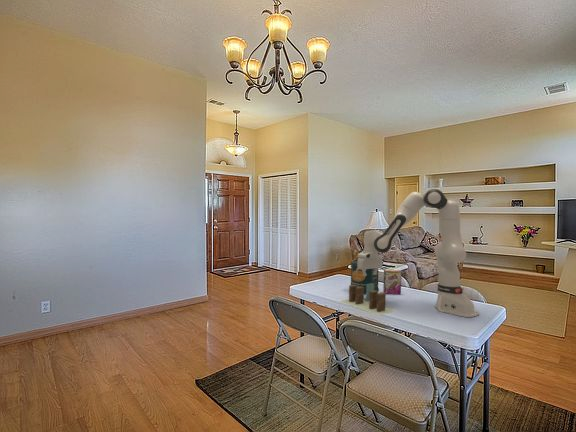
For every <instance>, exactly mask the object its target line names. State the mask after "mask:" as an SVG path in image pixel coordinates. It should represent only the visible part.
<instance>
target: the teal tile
mask: <svg viewBox="0 0 576 432" xmlns="http://www.w3.org/2000/svg"><path fill="white" fill-rule="evenodd" d="M369 291H374V284H373V283H370V284H366V294H365V295H366V296H365V297H366V298H365V299H366V300H369Z"/></svg>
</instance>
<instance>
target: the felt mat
mask: <svg viewBox="0 0 576 432" xmlns="http://www.w3.org/2000/svg"><path fill="white" fill-rule="evenodd" d="M339 302H341V303H343V304H346V305H347V306H348V305H349V306H351V307H354V308H356V309H359V310H363V311H365V312H368V313H370V314H374V315H377V316H381V315H385V314H389V313H392V312H396V310H395V309H392V308H389V307H387V306H385V311H381V312H378V311H377V308H375V309H369V300H365V299H364V303H362V304H355V302H349V298H348V299H344V300H339Z"/></svg>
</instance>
